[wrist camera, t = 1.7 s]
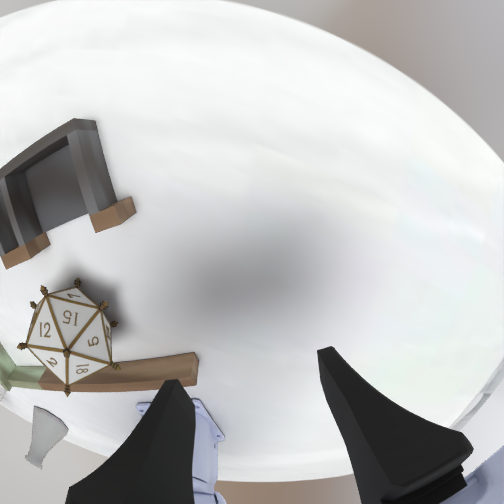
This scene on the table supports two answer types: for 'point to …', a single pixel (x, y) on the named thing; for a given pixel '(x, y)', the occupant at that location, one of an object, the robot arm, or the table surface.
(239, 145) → the table surface
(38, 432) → the flask
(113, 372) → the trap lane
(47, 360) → the game die
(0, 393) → the spray bottle
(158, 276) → the table surface
